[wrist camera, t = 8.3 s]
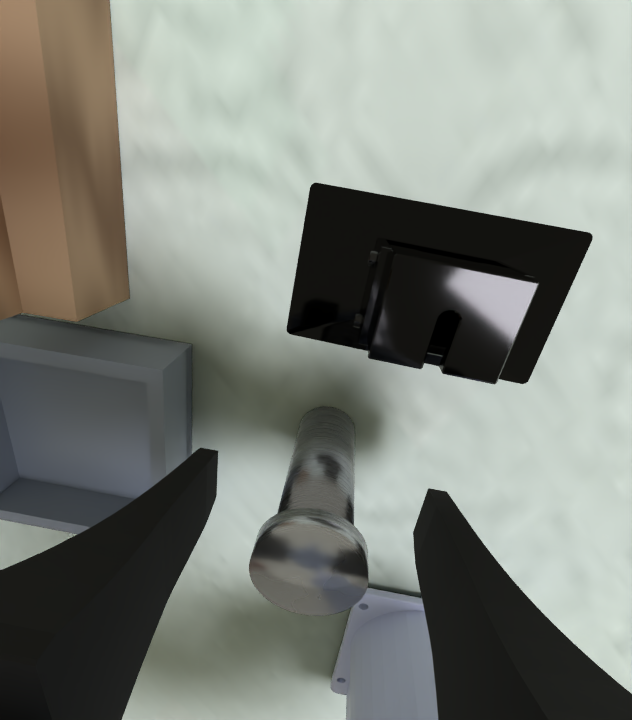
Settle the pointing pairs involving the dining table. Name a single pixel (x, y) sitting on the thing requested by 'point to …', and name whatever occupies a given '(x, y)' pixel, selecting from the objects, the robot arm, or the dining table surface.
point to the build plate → (431, 283)
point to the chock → (59, 161)
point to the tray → (87, 420)
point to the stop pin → (315, 525)
